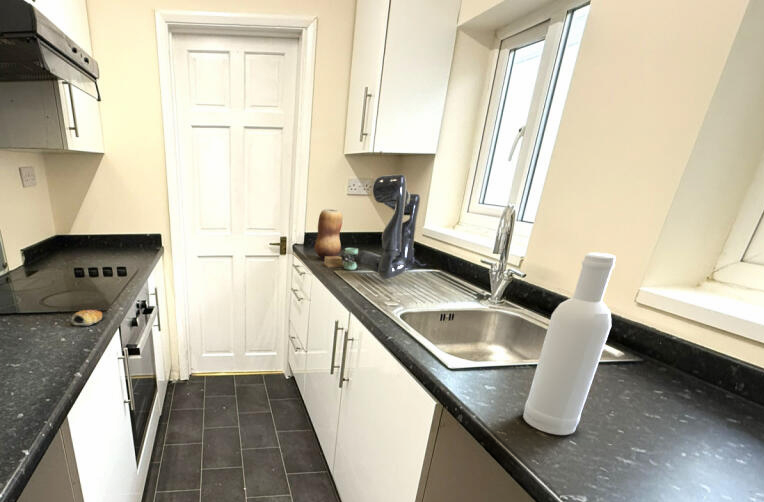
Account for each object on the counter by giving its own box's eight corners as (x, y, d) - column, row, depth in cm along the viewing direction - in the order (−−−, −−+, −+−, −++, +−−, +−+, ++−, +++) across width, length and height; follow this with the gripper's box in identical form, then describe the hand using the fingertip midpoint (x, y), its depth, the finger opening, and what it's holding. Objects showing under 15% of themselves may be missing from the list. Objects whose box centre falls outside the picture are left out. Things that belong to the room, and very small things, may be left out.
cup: (353, 266, 196) (355, 247, 193) (358, 269, 191) (360, 249, 187) (341, 267, 195) (343, 248, 192) (346, 269, 190) (347, 250, 186)
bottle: (557, 411, 77) (609, 250, 65) (586, 436, 69) (650, 259, 58) (513, 410, 77) (557, 249, 66) (537, 435, 70) (591, 259, 59)
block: (337, 264, 203) (338, 256, 201) (342, 266, 197) (342, 258, 196) (324, 264, 202) (324, 256, 200) (328, 267, 196) (328, 258, 195)
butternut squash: (339, 262, 207) (343, 210, 198) (313, 261, 209) (315, 210, 200) (339, 257, 220) (343, 208, 210) (314, 256, 222) (317, 208, 212)
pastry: (91, 315, 129) (89, 304, 128) (109, 318, 127) (107, 306, 126) (69, 325, 121) (67, 312, 119) (88, 328, 119) (86, 315, 117)
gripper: (383, 251, 179) (362, 245, 194) (354, 253, 175) (335, 247, 189) (381, 268, 182) (360, 261, 196) (353, 270, 177) (334, 263, 192)
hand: (348, 254), depth 193 cm, fingers closed on cup, 6 cm apart
